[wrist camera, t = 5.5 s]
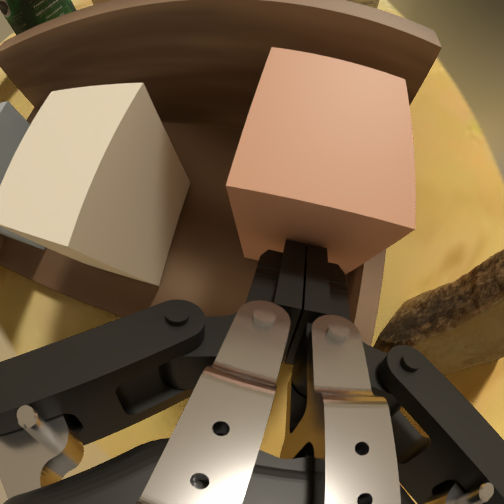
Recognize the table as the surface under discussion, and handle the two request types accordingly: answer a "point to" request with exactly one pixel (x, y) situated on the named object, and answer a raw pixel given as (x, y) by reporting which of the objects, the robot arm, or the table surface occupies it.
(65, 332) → the table surface
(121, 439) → the table surface
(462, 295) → the rock
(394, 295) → the table surface
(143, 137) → the cream rectangular block
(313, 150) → the key terracotta
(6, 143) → the grey blue block
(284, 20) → the tray
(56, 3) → the coffee jar
